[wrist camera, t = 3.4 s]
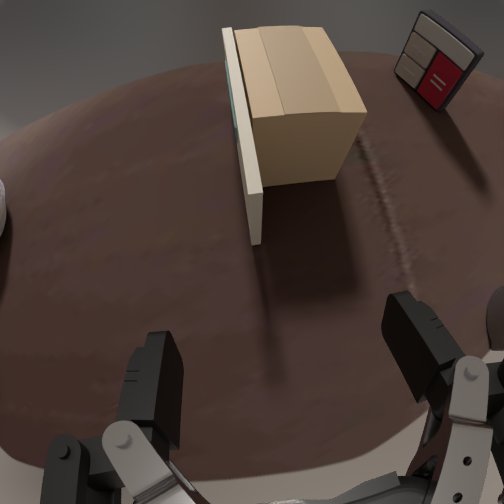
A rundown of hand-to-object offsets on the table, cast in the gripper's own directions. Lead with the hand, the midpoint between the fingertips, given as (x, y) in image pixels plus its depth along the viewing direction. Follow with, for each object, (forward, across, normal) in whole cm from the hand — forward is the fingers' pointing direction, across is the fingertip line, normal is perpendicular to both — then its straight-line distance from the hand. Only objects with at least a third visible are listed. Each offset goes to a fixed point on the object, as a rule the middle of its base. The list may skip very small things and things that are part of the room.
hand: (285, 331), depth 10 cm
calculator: (+38, +33, +9) cm, 51 cm away
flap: (+28, 0, -1) cm, 28 cm away
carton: (+31, +6, +2) cm, 32 cm away
